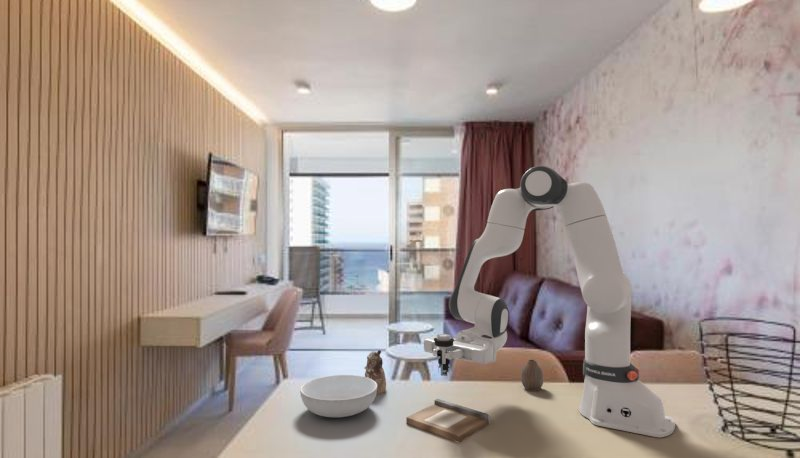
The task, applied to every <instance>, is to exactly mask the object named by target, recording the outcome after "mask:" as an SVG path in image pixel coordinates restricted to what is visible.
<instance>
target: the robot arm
mask: <svg viewBox="0 0 800 458" xmlns="http://www.w3.org/2000/svg"><path fill="white" fill-rule="evenodd" d="M553 208H555V209H557V210H558V211H559V213H560V215H561V218H562V222H563V225H564V229H565V232H566V235H567V238H568V242H569V245H570V247H571V250H572V254H573V259H574V265H575V269H576V275H577V278H578V279H577V280H578V284H579V286H580V291H581V295H582V299H583V301H584V303H585V304H586V305H587V306H586V307H587V308H586V320H585V327H584V330H585V331H584V340H585V342H584V358H583V363H582V375H583V380H584V382H583V391H582V395H581V396H582V397H581V401H580V405H579V407H578V411H579V413H580V414H581V415H582V416H583V417H584V418H587V419H588V420H589V421H590V422H591V423H592V424H593V425H595V426H598V427H604V428H609V429H614V430H619V431H624V432H628V433H629V432H630V433H634V434H639V435H643V436H650V437H654V438H665V437H668V436H670V435H672V433H674V431H675V428H676V424H675V420H674V419H673V417H671V416H670V415H666V414H665V409H664V405H663V404H664V403H663V401H662V399H661V398H660V396H659V395H657V393H655V392H654V391H653V390H651V389H650V388H649V387H648V386H647V385H646V384H644V383H643V382H642V381H641V380H640V366H637V367H635V365H633V364H632V363H631V321H632V320H631V317H632V314H631V312H632V284H631V281H630V280H629V277H628V276H627V275H626V274H625V273H624V270H623V268H622V267H623V266H622V264H621V259H620V257H619V252H618V249H617V248H618V247H617V244H616V241H615V237H614V235H613V233H612V232H613V231H612V228H611V226H610V222H609V219H608V217H607V214H606V210H605V208H604V205H603V203H602V201H601V199H600V197H599V195H598V194H597V192H596V190H595V188H594V186H593V185H591V184H590V183H589V182H585V181H577V182H572V183H568V181H567V180H566V179H564V177H562V176H561V175H560V174H559V173H558V172H557V171H555V170H554V169H553V168H550V167H548V166H545V165H544V166H543V165H536V166H533V167H530V168H529V169H528V170H527V171H525V173H524V174H523V175H522V176H521V179H520V184H519V188H505V189H501V190H499V191H498V192H497V193H496V194H495V197H494V199H493V201H492V204H491V206H490V210H489V213H488V217H487V220H486V221H487V223H486V226H485V229H484V231H483V233H482V234H481V235H480V236H479V238H476V239H475V240H474V241H473V242H472V244H471V246H470V248H469V250H468V252H467V256H466V258H465V261H464V263H463V266H462V269H461V273H459V277H458V280H457V283H456V285H455V287H454V289H453V291H452V293H451V294H450V297H449V300H448V309H449V311H450V314H451V315H452V317H453V318H454V319H455V320H458V321H463V322H466V323H471V324H474V326H472V327H470V328H466V329H463V330H460V331H459V332H457V333H456V334H455V336H454V337H452V338H453V339H454V341H453V346H451V347H450V348H447V352H445V358H446V359H449V360H453V359H457V360H461V361H464V362H466V363H467V362H468V363H469V362H471V363H476V364H481V365H485V364H486V365H487V364H490V363H495V362H497V353H498V351H499V350H501V349H502V348H503V347H504V346H505V344H506V342H507V339H508V332H507V331H508V330H507V329H508V326H509V322H510V310H509V307H508V305H507V302H506V301H505V300H504V299H503V298H500V297H497V296H494V295H491V294H486V293H482V292H480V291H477V290H475V285H476V282H477V279H478V277H479V274H480V271H481V268H482V266H483V265H484V263H485V262H487V261H488V260H491V259H494V258H500V257H506V256H508V255H511V254H513V253H515V252H516V251H517V250H518V249H519V248H520V246H521V244H522V242H523V238H524V234H525V229H526V225H527V219H528V216H529V214H530V213H531V212H535V211H543V210H544V211H545V210H551V209H553ZM434 338H437V336H431V337H427V338H424V340H423V350H424V352H425V353H428V354H429V353H430V354H432V355H433V357H436V358H438V357H439V358H440V350H441V348H439V347H437V346H436V345H435V341H434Z"/></svg>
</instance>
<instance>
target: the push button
mask: <svg viewBox="0 0 800 458" xmlns="http://www.w3.org/2000/svg"><path fill="white" fill-rule="evenodd" d="M453 338H454V337H451V334H449V333H448V334H447V333H439V334H437V338H434V341H435V345H436V346H437V347H439V348H441V350H440V356H439V358H438V360H437V361H438V365H439V366H438V367H437V368H438V369H437V370H438V372H437V373H439V369H440V376H443V377H448V373H449V374H450V372H451V369H450V367H451V366H449V364H451V361H450V360H451V359H450V360H449V359H446V358H445V352H447V348H450V347H451V346H453V341H454V339H453Z"/></svg>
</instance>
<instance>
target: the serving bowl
mask: <svg viewBox="0 0 800 458" xmlns="http://www.w3.org/2000/svg"><path fill="white" fill-rule="evenodd" d="M299 392H300V398H301V401H302V403H303V405H304V406H305V408H306V409H307V410H309V412H311V413H313V414H315V415H316V416H320V417H326V418H345V417H351V416H355V415H358V414H360V413H362V412H363V411H365V410H367V409H368V408H369V407H370V406H371V405H372V404H373V402H374V400H375V398H376V396H377V394H376V393H377V383H376V382H375V381H374V380H372V379H370V378H367V377H365V376H362V375H354V374H336V375H326V376H321V377H319V378H318V377H317V378H314V379H312V380H308V381H307V382H305V383H304V384H303V385H301V386H300V389H299Z"/></svg>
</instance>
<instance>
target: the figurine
mask: <svg viewBox="0 0 800 458" xmlns="http://www.w3.org/2000/svg"><path fill="white" fill-rule="evenodd" d="M381 353H382V350H380V349H379V350H377V351H371V352H369V354H367V356H366V360H367V361H366V366H364V369H365V372H364V377H367V378H370V379H372V380H374V381H375V382H376V383H377V393H376V395H380V394H383V393H385V392H386V390H387V379H386V374H385V370H384V367H383V363H384V362H383V358H382V357H381V356H380V355H381Z"/></svg>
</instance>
